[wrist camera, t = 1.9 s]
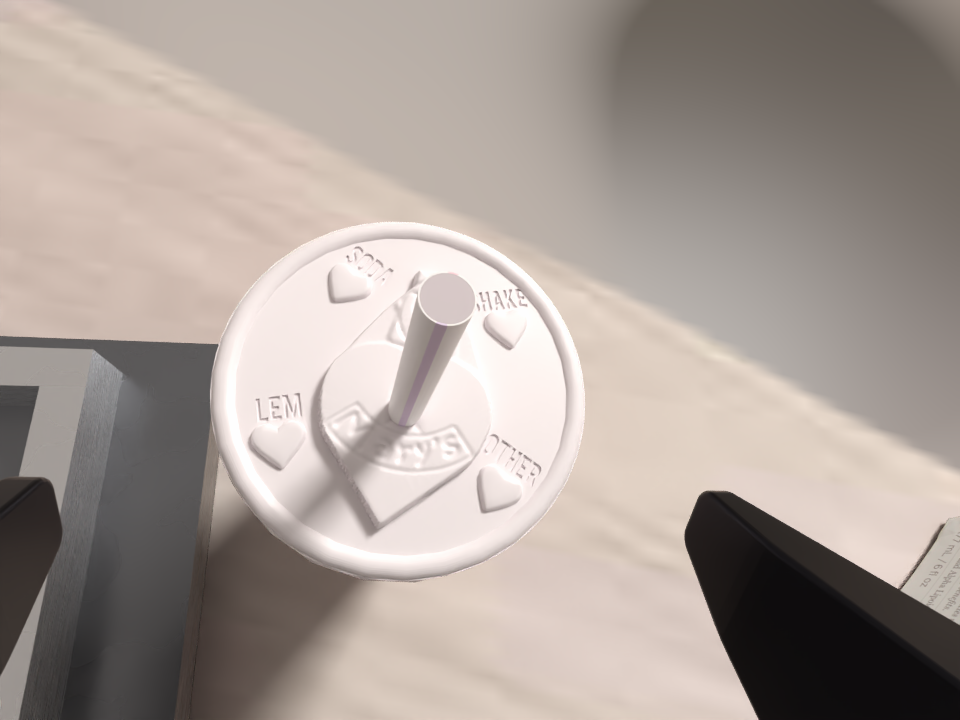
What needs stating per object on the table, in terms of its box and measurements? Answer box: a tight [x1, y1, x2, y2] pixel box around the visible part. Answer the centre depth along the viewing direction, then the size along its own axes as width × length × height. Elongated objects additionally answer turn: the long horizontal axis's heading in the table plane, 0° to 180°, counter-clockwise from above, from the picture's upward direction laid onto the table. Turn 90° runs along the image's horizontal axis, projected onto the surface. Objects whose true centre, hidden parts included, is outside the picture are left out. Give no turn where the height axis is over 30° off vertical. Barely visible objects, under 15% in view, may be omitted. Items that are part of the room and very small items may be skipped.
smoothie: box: [210, 222, 585, 582], centre depth 12 cm, size 6×6×14 cm
